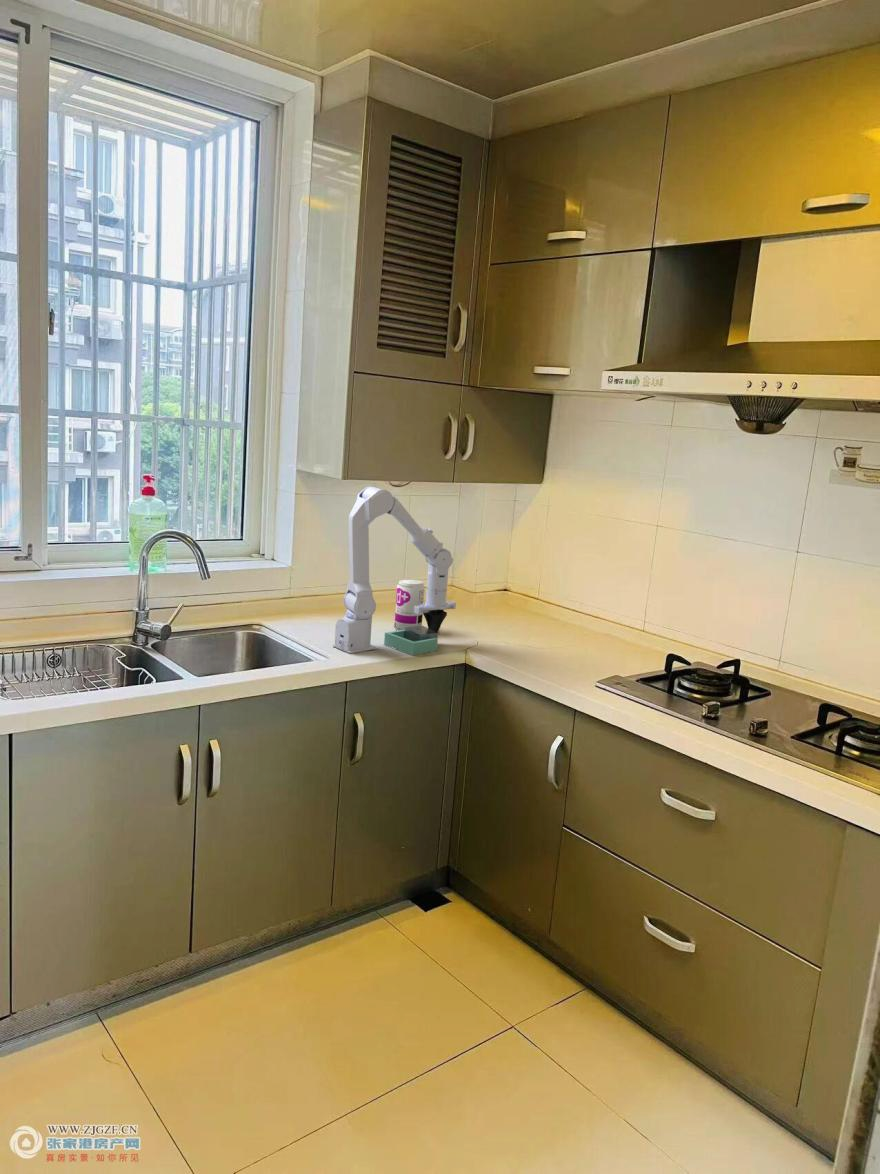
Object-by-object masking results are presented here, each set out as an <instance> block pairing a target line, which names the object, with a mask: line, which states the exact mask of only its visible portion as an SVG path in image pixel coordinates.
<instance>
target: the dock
mask: <svg viewBox="0 0 880 1174" xmlns="http://www.w3.org/2000/svg"><path fill="white" fill-rule="evenodd" d="M404 633H405V630H399V631H397V630H394V631H387V632H384V641H383V643H384V644H385V645H384V644H383V645H384V646H386V645H388V646H387V647H389V646H390V647H389V648H391V647H393V648H392V649H394V648H395V649H394V650H397V649H398V650H397V651H399V650H401V651H400V652H402V651H403V653H405V652H406V653H405V654H407V653H408V655H410V654H411V655H410V656H412V655H414V656H418V655H417V654H419V655H422V654H421V653H424V654H427V653H426V652H429V653H432V652H431V651H434V652H437V651H438V640H439V639H437V638H432V639H427V640H421V641H416V642H413V641H410V640H408V639H405V638H404ZM436 650H437V651H436Z"/></svg>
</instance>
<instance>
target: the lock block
mask: <svg viewBox="0 0 880 1174" xmlns="http://www.w3.org/2000/svg"><path fill="white" fill-rule="evenodd" d="M438 635H439V632H438V633H437V632H435V631H433V630H431V629H429V628H428V627H426V626H424V625H422V626H415V627H405V633H404V638H405V639H408V640H410V641H413V642H416V641H421V640H427V639H432V638H437V639H438V638H439V637H438ZM438 640H439V639H438Z"/></svg>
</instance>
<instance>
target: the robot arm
mask: <svg viewBox="0 0 880 1174" xmlns="http://www.w3.org/2000/svg"><path fill="white" fill-rule="evenodd" d="M356 497H357V498H356V501H355V503H354V505H353V507H352V509H351V511H350V513H349V515H348V548H349V549H348V550H349V557H348V558H349V560H348V562H349V582H348V583H347V584H346V590H345V591H346V592H345V594H344V596H343V605H344V607H345V608H346V611H345V615H344V617H342V618H339V619H338V620H337V621H336V624H335V628H334V629H335V633H334V635H335V636H334V644H333V645H332V647H334V648H337V649H338V650H341V651H344V652H345V653H348V654H354V653H359V652H365V651H371V650H376V649H377V648H378V647H377V646H375V645H373V644H371V638H372V637H371V636H372V623H373V621H372V620H373V615H374V613H375V612H376V609H377V603H376V601H375V599H374V596H373V589H372V586H371V583H370V546H369V545H370V543H369V541H370V539H369V538H370V537H369V536H370V535H369V534H370V532H369V527H370V526H369V525H370V524H371V523H372V522H373V521H374V520H375V519H376V518H379V517H380V516H383V515H384V514H387V515H390V516H393V518H394V519H395V520H396V521H397V522H398V523H399V524H400V525H401V526H402V527H403V528H404V529H405V530H406V531H407V532H408V533H409V534H410V542H411V543H412V544H413V545H414V546H415V547H416V549H417V550H418V551H419V552H420V553H421V555H422V556H424V559H425V562H427V563H428V566H427V578H426V581H427V582H426V592H425V602H423V604H421V605H418V606H414V613H416V614H421V613H423V616H424V618H425V619H424V620H425V621H426V624H427V628H429V629H431V630H433V631H435V632H437V633H438V634H439V631H440V629H441V625H442V623H443V622H444V621H445V618H446V617H447V615H448V613H447V611H444V610H450V609H451V610H456V608H457V602H455V601H452V600H450V601H447V592H448V580H449V569H450V568H451V566H452V565H453V562H454V558H453V556H452V553H451V552H450V550H448V549H447V548H444V547H443V546H444V543H443V542H442V541H439V540H438V539H437V538H436V536H435V535H434V534H433V533H434V531H433V530H432V529H431V528H427V527H426V526H420V525H419V524H418V523H417V521H416V520H415V519H414V518H413V516H412V515H411V513H409V512H408V510H407V509H406V508H405V507H404V505H403V504H402V503H401V502H400V501H399V499H398V498H396V497H395V496H393V494H392V493H391V492H390V491H389V490H386V489H382V488H379V487H377V486H373V485H369V486H366V487H365V488H363V489H362V490H361V491H360V492H359V493H358V494H357V496H356Z"/></svg>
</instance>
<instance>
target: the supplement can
mask: <svg viewBox="0 0 880 1174" xmlns="http://www.w3.org/2000/svg"><path fill="white" fill-rule="evenodd" d="M424 598H425V585H424V582H423V581H422V580H419V579H415V578H414V579H413V578H409V579H408V578H406V579H405V578H404V579H399V582H398V583H397V585H396V598H395V609H394V611H395V612H394V626H393V627H394V629H395V631H397V630H398V631H399V630H405V627H415V626H423V616H424V615H423V613H421V614H416V613H414V606H418V605H421V604H424V603H425V599H424Z"/></svg>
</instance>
